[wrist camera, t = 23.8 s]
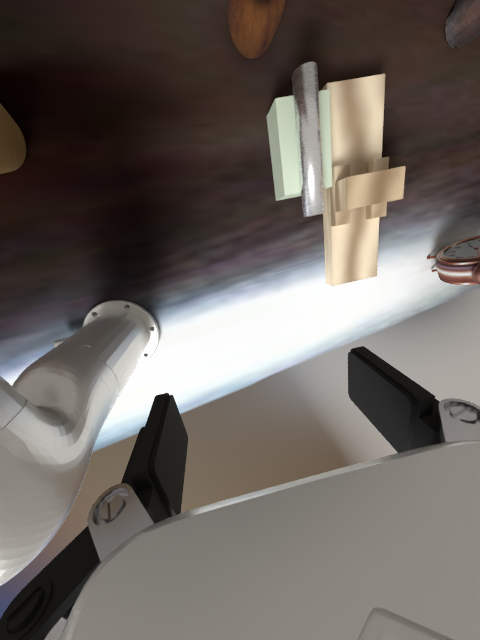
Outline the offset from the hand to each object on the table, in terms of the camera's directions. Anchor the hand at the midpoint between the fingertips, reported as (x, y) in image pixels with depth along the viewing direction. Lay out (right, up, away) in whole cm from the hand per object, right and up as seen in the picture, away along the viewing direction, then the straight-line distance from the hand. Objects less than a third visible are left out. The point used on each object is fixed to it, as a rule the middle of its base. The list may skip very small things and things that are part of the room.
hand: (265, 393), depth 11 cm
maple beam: (+17, +25, +26) cm, 39 cm away
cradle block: (+7, +29, +23) cm, 38 cm away
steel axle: (+8, +27, +19) cm, 34 cm away
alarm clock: (+39, +16, +32) cm, 53 cm away
